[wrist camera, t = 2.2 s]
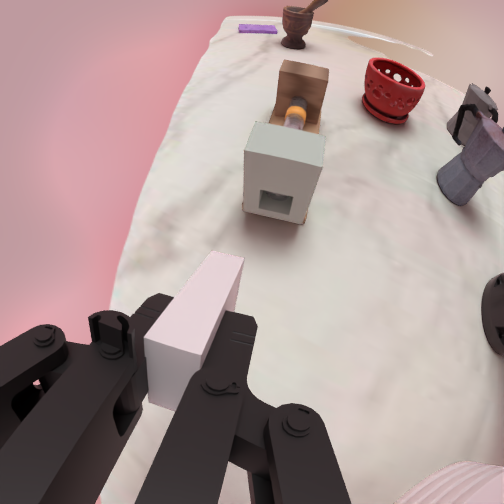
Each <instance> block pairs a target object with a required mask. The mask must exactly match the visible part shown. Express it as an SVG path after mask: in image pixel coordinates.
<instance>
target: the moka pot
mask: <svg viewBox="0 0 504 504" xmlns="http://www.w3.org/2000/svg"><path fill="white" fill-rule="evenodd" d="M467 110H469V111H471V112H472V114H473V116H474V118H475V119H476V120H477V121H478V123H477V125H476V127H475V129H474V130H473V132H472V134H471V136H470V137H469V139H468V141H467V142H466V146H465V147H463V150H462V152H461V153H459V154H458V155H457V156H455V157H454V158H453V159H452V160H451V161H450V162H448V163H447V164H446V165H444V166H443V167H442V168H441V169H440V170H439V171H438V174H437V178H438V183H439V185H440V187H441V190H442V191H443V193H444V194H445V195H446V196H447V197H448V199H449V200H451V201H452V202H453V203H455V204H457V205H460V206H461V205H464V204H466V203H467V202H468V201H469V200H470V199H471V198H472V197H473V195H474V194H475V193H476V192H477V190H478V189H479V188H481V187H482V184H483V183H484V181H486V180H487V179H488V178H489V177H493V176H495V175H496V174H498V173H499V172H500V171H503V170H504V127H503V129H502V128H501V127H500V126H499V125H497V124H496V123H495V122H494V121H493V120H492V119H490V118H487V117H486V116H485V115H484V114H483V113H482V112H481V111H479V109H478V108H477V106H476V105H475V104H469V105H468V104H465V105H461V106H460V108H459V110H458V116H457V121H456V124H455V128H454V132H453V136H452V137H453V139H454V140H455V142H456V143H457V144H458V145H462V142H461V141H460V140H459V139H458V134H459V129H460V127H461V125H462V121H463V118H464V115H465V111H467Z"/></svg>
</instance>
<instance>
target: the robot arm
mask: <svg viewBox="0 0 504 504" xmlns="http://www.w3.org/2000/svg"><path fill="white" fill-rule="evenodd" d="M244 259H245V258H242V257H238V256H234V255H229V254H225V253H221V252H216V251H211V252H210V253H209V255H208V256H207V257H206V258H205V260H204V261H203V262H202V263H201V265H200V266H199V267H198V268H197V269H196V271H195V272H194V273H193V274H192V276H191V277H190V278H189V280H188V281H187V282H186V283H185V285H184V286H183V287H182V288H181V290H180V291H179V292H178V293H177V295H176V296H175V297H171V296H168V295H164V294H161V293H158V294H156V295H154V296H151V297H149V298H148V299H147V300H146V301H145V302H144V303H143V304H142V305H141V307H139V308H138V309H137V310H136V311H135V314H133V315H132V316H131V317H129V316H127V315H126V314H124V313H122V312H118V311H113V310H109V311H100V312H97V313H94V314H93V315H91V316H89V317H88V320H89V326H90V332H91V338H92V342H91V344H90V345H85V344H79V343H73V342H68V341H66V338H65V335H64V333H63V331H62V330H61V329H60V328H58V327H57V326H54V325H50V324H46V325H39V326H36V327H34V328H32V329H30V330H28V331H26V332H25V333H23V334H21V335H19V336H18V337H16V338H14V339H12V340H10V341H9V342H7V343H5V344H4V345H2V346H0V504H95V502H96V500H97V498H98V497H99V495H100V493H101V491H102V489H103V487H104V485H105V483H106V481H107V479H108V477H109V475H110V473H111V471H112V469H113V467H114V466H115V464H116V462H117V460H118V458H119V456H120V454H121V452H122V450H123V448H124V447H125V445H126V443H127V441H128V439H129V437H130V435H131V433H132V432H133V430H134V428H135V426H136V424H137V422H138V420H139V419H140V417H141V414H142V410H143V408H142V401H143V399H144V398H145V396H146V394H147V392H148V400H149V402H150V403H153V404H155V405H158V406H161V407H164V408H167V409H170V410H173V411H175V414H174V416H173V418H172V420H171V423H170V425H169V427H168V429H167V432H166V434H165V436H164V438H163V441H162V443H161V445H160V447H159V450H158V452H157V454H156V456H155V459H154V461H153V463H152V465H151V468H150V470H149V472H148V474H147V477H146V479H145V481H144V483H143V486H142V488H141V490H140V492H139V495H138V497H137V499H136V501H135V504H218V500H219V496H220V492H221V488H222V484H223V480H224V476H225V472H226V468H227V464H228V461H229V462H231V463H233V464H235V465H237V466H239V467H241V468H243V469H245V470H247V474H248V482H249V490H250V498H251V504H351V501H350V498H349V495H348V492H347V489H346V486H345V483H344V480H343V477H342V474H341V471H340V468H339V465H338V462H337V459H336V456H335V454H334V451H333V448H332V445H331V442H330V439H329V436H328V433H327V430H326V427H325V424H324V422H323V420H322V419H321V417H320V415H319V414H318V413H316V412H315V411H314V410H313V409H312V408H309V407H307V406H304V405H302V404H294V403H290V404H284V405H281V406H279V407H278V408H275V407H273V406H271V405H268V404H266V403H264V402H263V401H261V400H259V399H258V398H257V397H255V396H254V395H253V394H252V392H251V391H250V389H249V388H248V385H247V374H248V369H249V365H250V360H251V355H252V351H253V346H254V341H255V337H256V332H257V327H258V326H257V324H256V322H255V319H254V317H252V316H248V315H244V314H239V313H235V312H234V310H235V305H236V300H237V295H238V290H239V284H240V279H241V274H242V269H243V264H244ZM482 318H483V325H484V329H485V333H486V336H487V339H488V341H489V343H490V345H491V346H492V348H493V349H494V350H495V351H496V352H497V353H498V354H500V355H504V273H501V274H499V275H497V276H495V277H494V278H492V279H491V280H490V281H489V282H488V283H487V285H486V287H485V290H484V294H483V299H482ZM36 380H39V382H40V384H39V385H33V382H35V381H36Z"/></svg>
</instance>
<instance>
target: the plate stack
mask: <svg viewBox="0 0 504 504" xmlns="http://www.w3.org/2000/svg"><path fill="white" fill-rule="evenodd" d="M394 504H504V467H503V466H496V465H488V464H483V463H477V462H473V461H461V462H457V463H453V464H451V465H448V466H446V467H444V468H442V469H440V470H438V471H436V472H434V473H433V474H431V475H429V476H428V477H426V478H425V479H423V480H422V481H420V482H419V483H418V484H416V485H415V486H414V487H412V488H411V489H410V490H409V491H407V492H406V493H405V494H404V495H403V496H402V497H400V498H399V499H398V500H397V501H396V502H395V503H394Z"/></svg>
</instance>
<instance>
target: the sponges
mask: <svg viewBox="0 0 504 504" xmlns="http://www.w3.org/2000/svg"><path fill="white" fill-rule="evenodd" d="M239 33H268V34H277V30H276V28H275V26H273V25H269V26H268V25H251V24H239Z"/></svg>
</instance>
